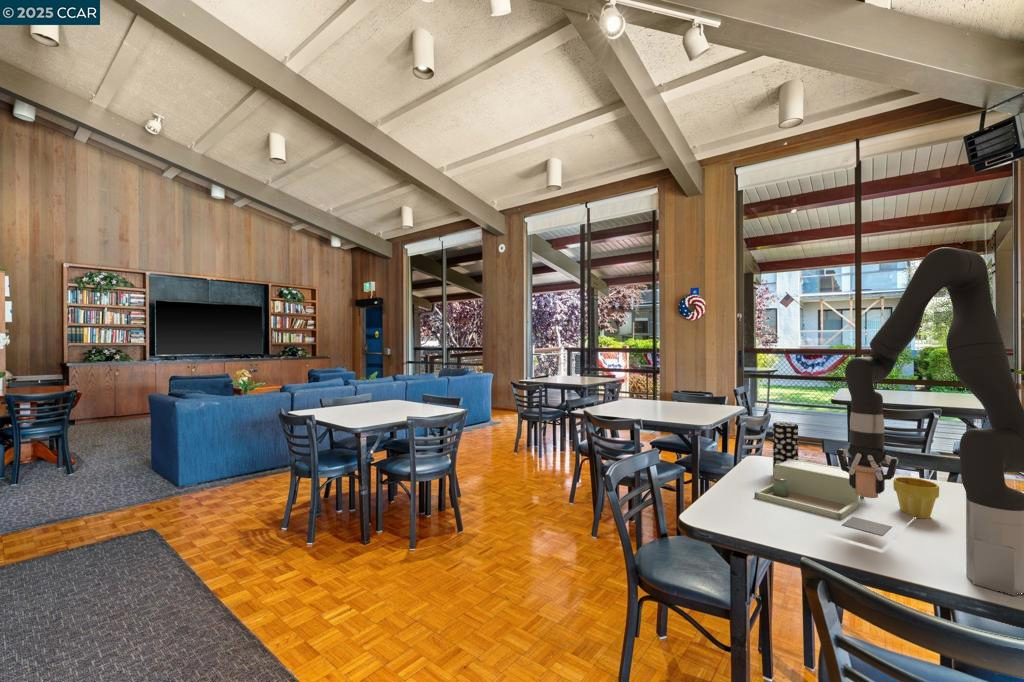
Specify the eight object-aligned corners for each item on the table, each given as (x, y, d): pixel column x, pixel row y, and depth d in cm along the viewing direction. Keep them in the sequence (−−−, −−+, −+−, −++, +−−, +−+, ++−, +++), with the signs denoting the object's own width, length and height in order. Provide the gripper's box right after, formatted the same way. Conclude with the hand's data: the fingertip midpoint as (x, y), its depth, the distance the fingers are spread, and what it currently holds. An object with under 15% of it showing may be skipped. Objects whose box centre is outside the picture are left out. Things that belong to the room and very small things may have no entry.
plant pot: (948, 522, 131) (948, 488, 131) (907, 520, 133) (906, 486, 133) (924, 509, 141) (924, 477, 141) (885, 507, 144) (885, 475, 143)
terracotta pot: (876, 500, 123) (876, 464, 123) (850, 494, 128) (850, 459, 128) (882, 495, 127) (882, 460, 127) (857, 489, 131) (857, 456, 131)
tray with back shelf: (841, 522, 132) (840, 490, 132) (754, 499, 151) (754, 472, 151) (869, 500, 149) (869, 473, 149) (789, 483, 168) (788, 458, 168)
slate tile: (882, 538, 121) (882, 535, 121) (841, 528, 128) (841, 524, 128) (891, 529, 126) (891, 526, 126) (852, 519, 134) (852, 516, 134)
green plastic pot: (786, 497, 150) (786, 481, 150) (771, 494, 153) (771, 479, 153) (790, 494, 153) (789, 479, 153) (775, 492, 156) (775, 476, 156)
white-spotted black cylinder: (794, 474, 178) (794, 422, 178) (801, 480, 170) (801, 426, 170) (770, 472, 181) (770, 422, 181) (776, 479, 173) (776, 425, 173)
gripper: (831, 426, 130) (831, 486, 131) (896, 435, 119) (896, 500, 119) (840, 423, 135) (840, 481, 135) (903, 431, 124) (903, 494, 124)
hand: (866, 490), depth 127 cm, fingers closed on terracotta pot, 5 cm apart
